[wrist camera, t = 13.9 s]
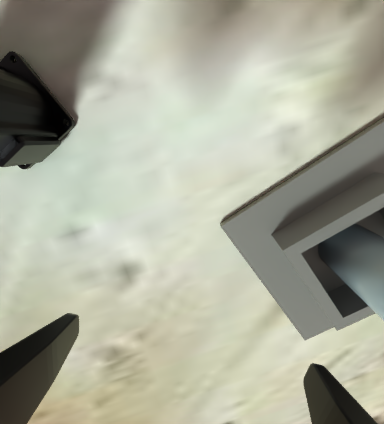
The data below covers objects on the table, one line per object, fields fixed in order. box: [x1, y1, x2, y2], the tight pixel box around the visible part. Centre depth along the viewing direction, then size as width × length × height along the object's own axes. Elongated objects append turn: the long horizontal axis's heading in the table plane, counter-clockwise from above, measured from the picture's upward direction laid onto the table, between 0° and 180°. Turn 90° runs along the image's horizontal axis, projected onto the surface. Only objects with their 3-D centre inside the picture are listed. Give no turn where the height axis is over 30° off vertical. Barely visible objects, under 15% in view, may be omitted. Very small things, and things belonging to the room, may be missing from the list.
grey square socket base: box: [220, 118, 384, 340], centre depth 19 cm, size 16×16×4 cm
